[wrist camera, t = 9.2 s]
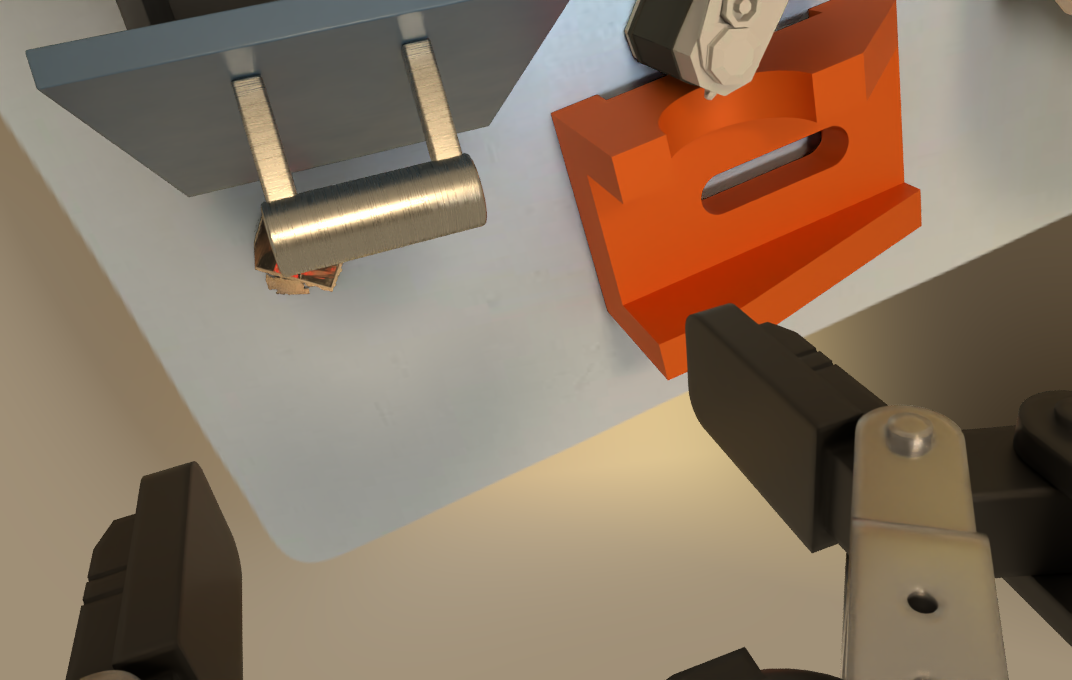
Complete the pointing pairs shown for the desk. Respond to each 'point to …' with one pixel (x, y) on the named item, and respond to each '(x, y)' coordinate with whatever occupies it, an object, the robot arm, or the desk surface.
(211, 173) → the lid
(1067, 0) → the vase
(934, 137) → the desk surface
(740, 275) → the orange slotted stand
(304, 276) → the matchbox
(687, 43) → the camera
